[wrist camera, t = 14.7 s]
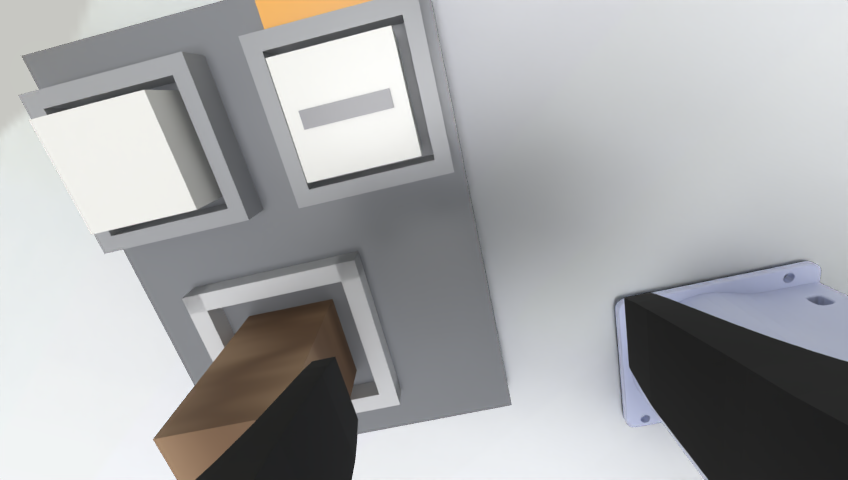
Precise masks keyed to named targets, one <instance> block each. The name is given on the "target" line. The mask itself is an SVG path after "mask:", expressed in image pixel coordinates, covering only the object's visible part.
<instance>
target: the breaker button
mask: <svg viewBox="0 0 848 480" xmlns="http://www.w3.org/2000/svg"><path fill="white" fill-rule="evenodd" d="M266 61H267V64H268V67H269V70H270V73H271V76H272V79H273V82H274V85H275V88H276V91H277V94H278V97H279V100H280V103H281V106H282V109H283V112H284V115H285V118H286V121H287V124H288V127H289V130H290V133H291V135H292V138H293V141H294V144H295V147H296V150H297V153H298V156H299V159H300V162H301V165H302V168H303V171H304V174H305V177H306V180H307V183H310V182H315V181H319V180H323V179H327V178H332V177H336V176H340V175H344V174H348V173H353V172H357V171H361V170H365V169H370V168H374V167H378V166H382V165H386V164H391V163H395V162H399V161H403V160H407V159H412V158H416V157H420V156H422V147H421V143H420V138H419V134H418V130H417V125H416V121H415V117H414V112H413V108H412V104H411V99H410V95H409V91H408V86H407V82H406V78H405V73H404V69H403V65H402V60H401V56H400V52H399V47H398V43H397V39H396V36H395V33H394V31H393V28H392V26H391V25H390V26H387V27H383V28H379V29H375V30H371V31H368V32H364V33H360V34H356V35H352V36H349V37H345V38H341V39H337V40H333V41H329V42H326V43H322V44H318V45H314V46H310V47H307V48H303V49H299V50H295V51H291V52H287V53H284V54H280V55H276V56H272V57H268V58H266Z"/></svg>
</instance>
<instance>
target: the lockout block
mask: <svg viewBox="0 0 848 480" xmlns="http://www.w3.org/2000/svg"><path fill="white" fill-rule="evenodd" d="M331 357H336V360H337V363H338V366H339V368H340V371H341V374H342V376H343V379H344V382H345V385H346V387H347V390H348V393H349V396H350V397H351V393H352V389H353V384H354V380H355V376H356V372H357V370H356V367H355V364H354V361H353V358H352V355H351V352H350V349H349V346H348V343H347V340H346V337H345V334H344V331H343V328H342V326H341V323H340V320H339V317H338V314H337V311H336V308H335V305H334V302H333V299H330V300H325V301H320V302H316V303H311V304H306V305H301V306H296V307H291V308H286V309H282V310H277V311H272V312H267V313H262V314H257V315H253V316H249V317H248V318H247V319H246V321H245V322H244V323H243V324H242V326H241V327H240V328H239V330H238V331H237V332H236V333H235V335H234V336H233V337H232V339H231V340H230V341H229V342H228V344H227V345H226V346H225V348H224V349H223V350H222V351H221V353H220V354H219V355H218V357H217V358H216V359H215V360H214V362H213V363H212V364H211V366H210V367H209V368H208V369H207V371H206V372H205V373H204V375H203V376H202V377H201V378H200V380H199V381H198V382H197V384H196V385H195V386H194V387H193V389H192V390H191V391H190V393H189V394H188V395H187V396H186V398H185V399H184V400H183V402H182V403H181V404H180V405H179V407H178V408H177V409H176V410H175V412H174V413H173V414H172V416H171V417H170V418H169V419H168V421H167V422H166V423H165V425H164V426H163V427H162V428H161V430H160V431H159V432H158V434H157V435H156V436H155V437H154V439H153V440H154V442H155V443H156V445H157V447H158V448H159V450H160V452H161V454H162V455H163V457H164V459H165V460H166V462H167V464H168V465H169V467H170V469H171V470H172V472H173V474H174V476H175V477H176V479H177V480H195V479H196V478H198V477H199V476H200V475H201V474H202V473H203V472H204V471H205V470H206V469H207V468H209V467H210V466H211V465H212V464H213V463H214V462H215V461H216V460H217V459H218V458H219V457H220V456H221V455H222V454H223V453H224V452H225V451H226V450H227V449H228V448H229V447H230V446H231V445H232V444H233V443H234V442H235V441H236V440H237V439H238V438H239V437H240V436H241V435H242V434H243V433H244V432H245V431H246V430H247V429H248V428H249V427H250V426H251V425H252V424H253V423H254V422H255V421H256V420H257V419H258V418H259V417H260V416H261V415H262V414H263V413H264V411H265V410H266V409H267V408H268V407H269V406H270V405H271V404H272V403H273V402H274V401H275V400H276V399H277V398H278V396H279V395H280V394H281V393H282V392H283V391H284V390H285V389H286V388H287V387H288V386H289V384H290V383H291V382H292V381H293V380H294V379H295V378H296V377H297V376H298V375H299V374H300V373H301V372H302V371H303V370H304V369H305V368H306V367H307V366H308V365H309V364H310V363H311V362H312V361H316V360H321V359H326V358H331Z"/></svg>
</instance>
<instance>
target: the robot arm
mask: <svg viewBox="0 0 848 480" xmlns="http://www.w3.org/2000/svg"><path fill="white" fill-rule="evenodd" d="M786 274H787V276H786V277H785V278H784V276H785V275H786ZM820 276H821V267H820V266H819V265H817V264H815V263H813V262H810V261H804V262H799V263H794V264H789V265H785V266H780V267H775V268H770V269H765V270H760V271H755V272H750V273H745V274H740V275H736V276H731V277H726V278H721V279H716V280H711V281H706V282H701V283H696V284H691V285H686V286H682V287H677V288H672V289H667V290H662V291H657V292H652V293H651V292H649V293H644V294H639V295H634V296H630V297H625V298H624V299H621V300H620V301H618V302H617V304H616V307H615V313H616V326H617V338H618V351H619V363H620V376H621V388H622V401H623V413H624V419H625V421H626V423H627V424H628V425H629V426H631V427H639V426H645V425H650V424H656V423H661V422H662V423H663V425H664V426H665V427H666V429H667V430H668V431H669V433H670V434H671V435H672V437H673V438H674V439H675V441H676V442H677V444H678V445H679V446H680V448H681V449H682V450H683V452H684V453H685V454H686V456H687V457H688V458H689V460H690V461H691V463H692V464H693V465H694V467H695V468H696V469H697V471H698V472H699V473H700V475H701V476H702V477H703V479H704V480H848V296H847V295H845V294H843V293H841V292H839V291H837V290H835V289H832V288H830V287H828V286H826V285H824V284H822V283H820ZM783 278H784V279H783ZM644 415H645V416H644ZM642 416H644V417H642ZM357 431H358V417H357V415H356V412H355V409H354V406H353V404H352V401H351V398H350V396H349V393H348V390H347V387H346V385H345V382H344V379H343V376H342V374H341V371H340V368H339V366H338V363H337V360H336V357H331V358H326V359H321V360H316V361H312V362H311V363H310V364H309V365H308V366H307V367H306V368H305V369H304V370H303V371H302V372H301V373H300V374H299V375H298V376H297V377H296V378H295V379H294V380H293V381H292V382H291V383H290V384H289V386H288V387H287V388H286V389H285V390H284V391H283V392H282V393H281V394H280V395H279V396H278V398H277V399H276V400H275V401H274V402H273V403H272V404H271V405H270V406H269V407H268V408H267V409H266V410H265V411H264V413H263V414H262V415H261V416H260V417H259V418H258V419H257V420H256V421H255V422H254V423H253V424H252V425H251V426H250V427H249V428H248V429H247V430H246V431H245V432H244V433H243V434H242V435H241V436H240V437H239V438H238V439H237V440H236V441H235V442H234V443H233V444H232V445H231V446H230V447H229V448H228V449H227V450H226V451H225V452H224V453H223V454H222V455H221V456H220V457H219V458H218V459H217V460H216V461H215V462H214V463H213V464H212V465H211V466H210V467H209V468H207V469H206V470H205V471H204V472H203V473H202V474H201V475H200V476H199V477H198V478H196V479H195V480H352V474H353V469H354V464H355V457H356V445H357Z"/></svg>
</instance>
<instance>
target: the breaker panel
mask: <svg viewBox="0 0 848 480" xmlns="http://www.w3.org/2000/svg"><path fill="white" fill-rule="evenodd" d="M390 25H391V26H392V28H393V31H394V33H395V36H396V39H397V43H398V47H399V52H400V56H401V60H402V65H403V69H404V73H405V78H406V82H407V86H408V91H409V95H410V99H411V104H412V108H413V112H414V117H415V121H416V125H417V130H418V134H419V138H420V143H421V147H422V156H420V157H416V158H412V159H407V160H403V161H399V162H395V163H391V164H386V165H382V166H378V167H374V168H370V169H365V170H361V171H357V172H353V173H348V174H344V175H340V176H336V177H332V178H327V179H323V180H319V181H315V182H310V183H307V180H306V177H305V174H304V171H303V168H302V165H301V162H300V159H299V156H298V153H297V150H296V147H295V144H294V141H293V138H292V135H291V133H290V130H289V127H288V124H287V121H286V118H285V115H284V112H283V109H282V106H281V103H280V100H279V97H278V94H277V91H276V88H275V85H274V82H273V79H272V76H271V73H270V70H269V67H268V64H267V61H266V58H268V57H272V56H276V55H280V54H284V53H287V52H291V51H295V50H299V49H303V48H307V47H310V46H314V45H318V44H322V43H326V42H329V41H333V40H337V39H341V38H345V37H349V36H352V35H356V34H360V33H364V32H368V31H371V30H375V29H379V28H383V27H387V26H390ZM22 58H23V60H24V62H25V63H26V65H27V67H28V69H29V71H30V72H31V75H32V77H33V78H34V81H35V82H36V84H37V86H38V88H39V90H36V91H32V92H28V93H25V94H21V95H19V97H20V99H21V101H22V103H23V105H24V107H25V108H26V110H27V112H28V114H29V116H30V118H31V119H30V120H29V121H30V123H31V125H32V127H33V129H34V131H35V132H36V134H37V136H38V138H39V140H40V142H41V143H42V145H43V147H44V149H45V151H46V153H47V154H48V156H49V158H50V160H51V162H52V164H53V165H54V167H55V169H56V171H57V173H58V174H59V176H60V178H61V180H62V182H63V184H64V185H65V187H66V189H67V191H68V193H69V195H70V196H71V198H72V200H73V202H74V204H75V206H76V207H77V209H78V211H79V213H80V215H81V217H82V218H83V220H84V222H85V224H86V226H87V228H88V229H89V231H90V233H91V235H92V234H94V235H95V237H96V239H97V241H98V243H99V244H100V246H101V248H102V250H103V252H104V254H105V253H110V252H114V251H118V250H124V252H125V254H126V256H127V258H128V260H129V261H130V263H131V265H132V267H133V269H134V271H135V273H136V275H137V277H138V279H139V281H140V282H141V284H142V286H143V288H144V290H145V292H146V294H147V296H148V298H149V300H150V301H151V303H152V305H153V307H154V309H155V311H156V313H157V315H158V317H159V319H160V321H161V322H162V324H163V326H164V328H165V330H166V332H167V334H168V336H169V338H170V340H171V341H172V343H173V345H174V347H175V349H176V351H177V353H178V355H179V357H180V359H181V361H182V362H183V364H184V366H185V368H186V370H187V372H188V374H189V376H190V378H191V380H192V381H193V383H194V385H196V384H197V382H198V381H199V380H200V378H201V377H202V376H203V375H204V373H205V372H206V371H207V369H208V368H209V367H210V366H211V364H212V363H213V362H214V360H215V359H216V358H217V357H218V355H219V354H220V353H221V351H222V350H223V349H224V348H225V346H226V345H227V344H228V342H229V341H230V340H231V339H232V337H233V336H234V335H235V333H236V332H237V331H238V330H239V328H240V327H241V326H242V324H243V323H244V322H245V321H246V319H247V318H248V317H249V316H253V315H257V314H262V313H267V312H272V311H277V310H282V309H286V308H291V307H296V306H301V305H306V304H311V303H316V302H320V301H325V300H330V299H333V302H334V305H335V308H336V311H337V314H338V317H339V320H340V323H341V326H342V328H343V331H344V334H345V337H346V340H347V343H348V346H349V349H350V352H351V355H352V358H353V361H354V364H355V367H356V370H357V372H356V376H355V380H354V384H353V389H352V393H351V397H350V398H351V401H352V404H353V406H354V409H355V412H356V415H357V417H358V431H357V434H361V433H366V432H371V431H377V430H382V429H387V428H392V427H398V426H403V425H408V424H414V423H419V422H424V421H429V420H435V419H440V418H445V417H451V416H456V415H461V414H466V413H472V412H477V411H482V410H488V409H493V408H498V407H504V406H509V405H511V399H510V394H509V389H508V384H507V379H506V374H505V369H504V364H503V359H502V354H501V349H500V344H499V339H498V334H497V329H496V324H495V319H494V314H493V309H492V304H491V299H490V294H489V289H488V284H487V278H486V273H485V268H484V263H483V258H482V253H481V248H480V243H479V238H478V233H477V228H476V223H475V218H474V213H473V208H472V203H471V198H470V193H469V188H468V183H467V178H466V173H465V168H464V163H463V157H462V152H461V147H460V142H459V137H458V132H457V127H456V122H455V117H454V112H453V107H452V102H451V97H450V92H449V87H448V82H447V77H446V72H445V67H444V62H443V57H442V52H441V47H440V42H439V36H438V31H437V26H436V21H435V16H434V11H433V6H432V1H431V0H224V1H220V2H216V3H213V4H209V5H205V6H202V7H198V8H195V9H191V10H187V11H184V12H180V13H176V14H173V15H169V16H165V17H162V18H158V19H155V20H151V21H147V22H144V23H140V24H136V25H133V26H129V27H125V28H122V29H118V30H115V31H111V32H107V33H104V34H100V35H96V36H93V37H89V38H85V39H82V40H78V41H75V42H71V43H68V44H64V45H60V46H56V47H53V48H49V49H45V50H42V51H38V52H35V53H31V54H27V55H24V56H22Z"/></svg>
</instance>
